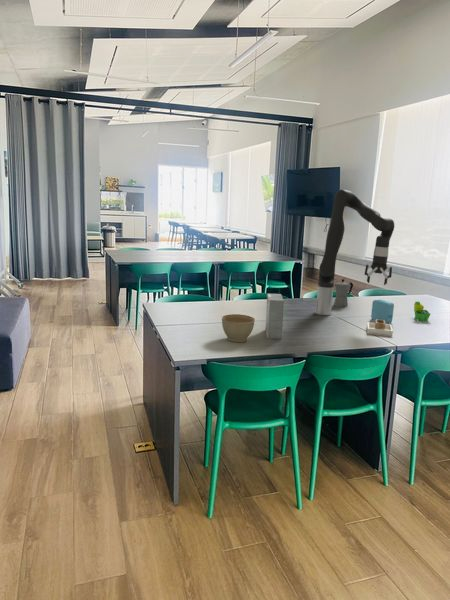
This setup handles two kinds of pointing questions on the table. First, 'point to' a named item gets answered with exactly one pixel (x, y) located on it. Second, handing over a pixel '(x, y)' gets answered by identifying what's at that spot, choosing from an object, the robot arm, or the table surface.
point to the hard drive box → (274, 316)
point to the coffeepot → (342, 293)
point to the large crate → (379, 330)
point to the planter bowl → (237, 326)
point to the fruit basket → (420, 312)
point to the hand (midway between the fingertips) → (376, 283)
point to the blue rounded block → (382, 310)
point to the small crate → (380, 324)
